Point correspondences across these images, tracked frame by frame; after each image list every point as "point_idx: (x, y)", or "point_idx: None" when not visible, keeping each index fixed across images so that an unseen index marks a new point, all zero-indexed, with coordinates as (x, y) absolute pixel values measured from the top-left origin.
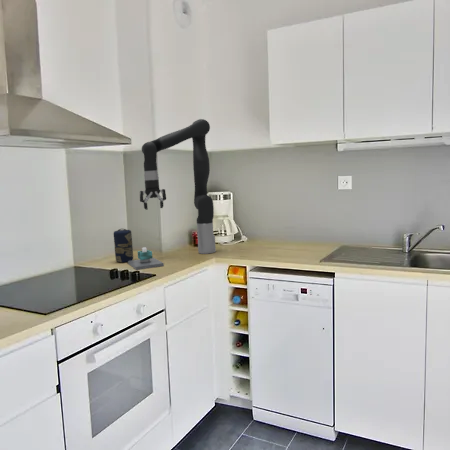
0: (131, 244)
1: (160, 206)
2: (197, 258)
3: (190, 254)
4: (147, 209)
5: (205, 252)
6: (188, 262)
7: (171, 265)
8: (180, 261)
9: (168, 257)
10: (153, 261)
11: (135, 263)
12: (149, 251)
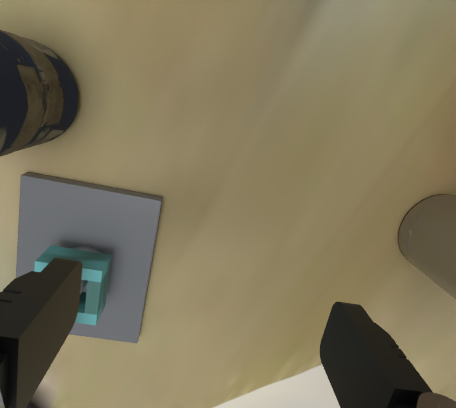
0: (25, 143)
1: (341, 329)
2: (317, 311)
3: (360, 212)
4: (75, 316)
5: (410, 261)
6: (245, 348)
7: (168, 346)
8: (234, 310)
9: (249, 191)
10: (118, 284)
11: (34, 262)
12: (87, 312)
